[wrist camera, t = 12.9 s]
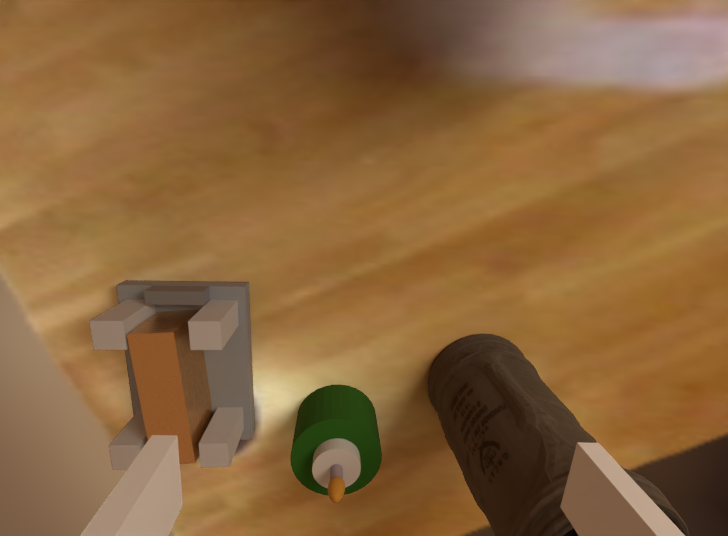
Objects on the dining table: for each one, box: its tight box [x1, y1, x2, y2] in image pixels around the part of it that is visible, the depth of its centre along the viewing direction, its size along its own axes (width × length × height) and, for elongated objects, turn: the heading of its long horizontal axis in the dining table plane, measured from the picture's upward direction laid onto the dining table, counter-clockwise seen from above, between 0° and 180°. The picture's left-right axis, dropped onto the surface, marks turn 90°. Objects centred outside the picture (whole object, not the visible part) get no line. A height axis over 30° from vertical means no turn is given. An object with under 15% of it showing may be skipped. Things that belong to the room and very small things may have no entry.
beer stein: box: [428, 334, 690, 536], centre depth 30 cm, size 15×11×20 cm
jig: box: [89, 280, 255, 470], centre depth 33 cm, size 16×11×6 cm
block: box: [127, 310, 213, 464], centre depth 32 cm, size 12×4×5 cm, turn 2°
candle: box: [291, 385, 382, 503], centre depth 34 cm, size 8×8×10 cm
